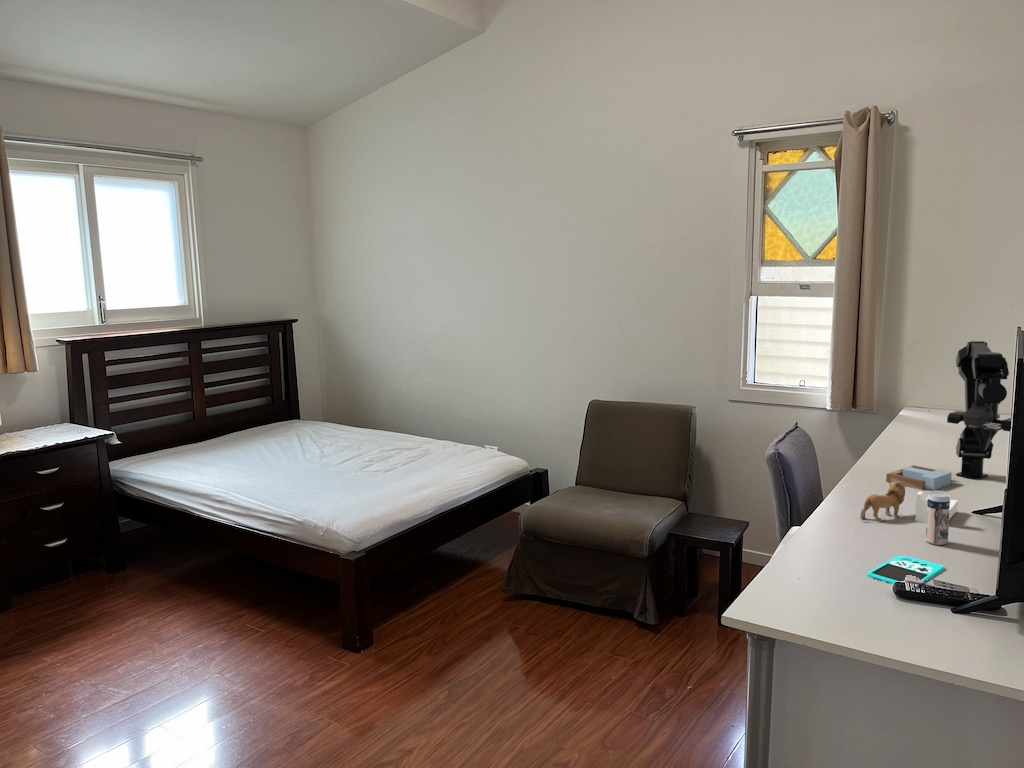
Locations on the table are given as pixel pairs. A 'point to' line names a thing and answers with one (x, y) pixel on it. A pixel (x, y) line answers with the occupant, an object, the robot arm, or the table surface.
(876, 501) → the lion figurine
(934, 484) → the t block
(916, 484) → the pocket
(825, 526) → the table surface
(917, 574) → the handheld game console
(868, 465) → the table surface
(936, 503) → the printed cylindrical canister
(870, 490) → the table surface
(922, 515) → the bracket
